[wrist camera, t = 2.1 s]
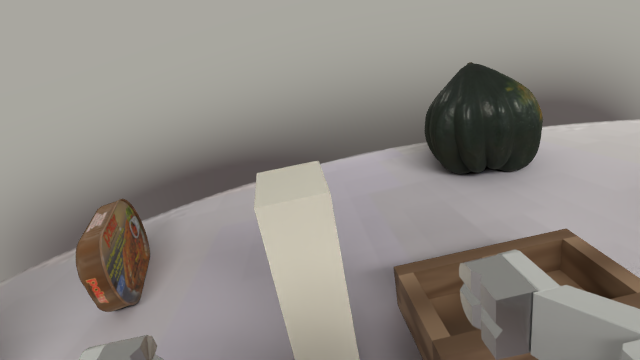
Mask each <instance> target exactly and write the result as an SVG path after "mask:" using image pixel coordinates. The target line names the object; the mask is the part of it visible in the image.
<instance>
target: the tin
mask: <svg viewBox="0 0 640 360" xmlns="http://www.w3.org/2000/svg"><path fill="white" fill-rule="evenodd" d="M149 258H150V251H149V243H148V239H147V235H146V232H145V229H144V227H143V224H142V222H141V219H140V218H139V215H138V214H137V212H136V210H135V209H134V207H133V206H132V205H131V204H130V203H129V202H128V201H127V200H125V199H120V200H118V201H116V202H113V203H110V204H107V205H104V206H102V207H100V208H99V209H98V210H97V211H96V213H95V215H94V216H93V218H92V220H91V222H90V223H89V225H88V227H87V228H86V230H85V232H84V233H83V235H82V237H81V238H80V240H79V242H78V245H77V248H76V266H77V271H78V275H79V278H80V280H81V282H82V284H83V285H84V286H85V288H86V290H87V292H88V293H89V295H90V297H91V298H92V300H93V301H94V302H95V304H96V305H97V307H98V308H99V309H100V310H102V311H105V312H111V311H115V310H118V309H121V308H123V307H126V306H129V305H135V304H136V303H137V302H138V301H139V299H140V297H141V293H142V289H143V284H144V280H145V276H146V271H147V267H148V263H149Z"/></svg>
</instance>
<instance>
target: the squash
mask: <svg viewBox="0 0 640 360" xmlns="http://www.w3.org/2000/svg"><path fill="white" fill-rule="evenodd" d="M542 122H543V121H542V112H541V109H540V106H539V104H538V102H537V100H536V98H535V97H534V95H533V94H532V92H530V90H529V89H527V88H526V87H524V86H523V85H522V84H520V83H519V82H517V81H515V80H513V79H512V78H510V77H508V76H506V75H504V74H501V73H499V72H498V71H496V70H493V69H490V68H488V67H486V66H483V65H479V64H473V63H472V62H471V63H468V64H467V65H466V66H464V67H463V68H462V69H460V70H459V72H458V73H457V74H456V75H455V76H454V77H453V78H452V79H451V81H450V82H449V83H448V84H447V85H446V87H444V89H443V90H442V91H441V92H440V93H439V94H438V96H437V97H436V98H435V99H434V101H433V102H432V104H431V105H430V107H429V109H428V111H427V114H426V121H425V136H426V141H427V143H428V146H429V148H430V150H431V151H432V153H433V155H434V156H435V157H436V158H437V159H438V160H439V161H440V162H441V163H442V165H443V166H444V167H445V168H446V169H448V170H449V171H451V172H454V173H459V174H464V173H468V172H471V171H473V172H482V171H483V170H484V169H485V168H486V166H488V167H489V168H491V169H499V170H503V171H515V170H519V169H521V168H524V167H525V166H527V165H528V164H529V163H530V162H531V161H532V160H533V158H534V157H535V155H536V153H537V151H538V148H539V144H540V139H541V131H542Z"/></svg>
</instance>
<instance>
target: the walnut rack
mask: <svg viewBox="0 0 640 360" xmlns="http://www.w3.org/2000/svg"><path fill="white" fill-rule="evenodd" d="M515 249H516V250H519V251H521V252H522V253H523V254H524V255H525V256H526V257H527V258H529V259H530V260H531V261H532V262H533V263H534V264H536V265H537V266H538V267H539V268H540V269H541V270H542V271H544V272H545V273H546V274H547V275H548V276H549V277H551V278H552V279H553V280H554V281H555V282H556V283H557V284H559V285H560V286H564V285H568V286H571V287H574V288H577V289H580V290H583V291H586V292H590V293H593V294H596V295H599V296H602V297H605V298H608V299H611V300H614V301H617V302H620V303H623V304H626V305H629V306H632V307H635V308H638V309H640V278H638V277H637V276H635V275H634V274H632V273H631V272H630V271H628V270H627V269H625V268H624V267H622V266H621V265H619V264H618V263H616V262H615V261H613V260H612V259H610V258H609V257H607V256H606V255H604V254H603V253H602V252H600V251H599V250H597V249H596V248H594V247H593V246H591V245H590V244H588V243H587V242H585V241H584V240H582V239H581V238H579V237H578V236H577V235H575V234H574V233H572V232H571V231H569V230H568V229H562V230H558V231H553V232H549V233H544V234H540V235H535V236H531V237H526V238H522V239H517V240H513V241H508V242H504V243H499V244H494V245H490V246H485V247H481V248H476V249H472V250H467V251H463V252H458V253H454V254H449V255H445V256H440V257H436V258H431V259H427V260H422V261H418V262H413V263H408V264H404V265H399V266H395V267H394V274H395V283H396V292H397V301H398V306H399V309H400V311H401V313H402V315H403V317H404V319H405V321H406V324H407V326H408V328H409V330H410V332H411V334H412V337H413V339H414V341H415V343H416V345H417V347H418V349H419V352H420V354H421V356H422V358H423V360H496V359H495V358H494V356H493V355H492V353H491V352H490V350H489V349H488V347H487V346H486V345H485V343H484V342H483V340H482V338H481V330H480V329H478V328H476V327H474V326H472V324H471V323H470V321H469V320H468V318H467V316H466V314H465V312H464V310H463V306H462V303H461V297H460V289H461V287H462V286H463V284H464V282H463V280H462V279H461V278H460V277H459V266H460V263H464V262H468V261H472V260H476V259H480V258H485V257H489V256H493V255H497V254H499V253H503V252H507V251H511V250H515ZM498 360H539V359H537V358H536V357H534V356H532V355H531V353H526V354H522V355H517V356H512V357H508V358H503V359H498Z"/></svg>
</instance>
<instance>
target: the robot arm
mask: <svg viewBox="0 0 640 360" xmlns="http://www.w3.org/2000/svg"><path fill="white" fill-rule="evenodd" d="M459 277H460V278H461V279H462V280H463V282H464V284H463V286H462V287H461V289H460V297H461V303H462V306H463V310H464V312H465V314H466V316H467V318H468V320H469V321H470V323H471V324H472V326H474V327H476V328H478V329H480V330H481V338H482V340H483V342H484V343H485V345H486V346H487V347H488V349H489V350H490V352H491V353H492V355H493V356H494V358H495V359H496V360H498V359H503V358H508V357H512V356H517V355H522V354H526V353H531V355H532V356H534V357H536V358H537V359H539V360H640V309H638V308H635V307H632V306H629V305H626V304H623V303H620V302H617V301H614V300H611V299H608V298H605V297H602V296H599V295H596V294H593V293H590V292H586V291H583V290H580V289H577V288H574V287H571V286H568V285H564V286H560V285H559V284H557V283H556V282H555V281H554V280H553V279H552V278H551V277H549V276H548V275H547V274H546V273H545V272H544V271H542V270H541V269H540V268H539V267H538V266H537V265H536V264H534V263H533V262H532V261H531V260H530V259H529V258H527V257H526V256H525V255H524V254H523V253H522V252H521V251H519V250H516V249H515V250H511V251H507V252H503V253H499V254H497V255H493V256H489V257H485V258H480V259H476V260H472V261H468V262H464V263H460V266H459ZM156 348H157V345H156V343H155V341H154V339H153V337H152V336H149V335H146V336H141V337H136V338H131V339H126V340H121V341H117V342H112V343H108V344H103V345H99V346H94V347H89V348H88V349H86V350H85V351H83V353H82V355H81V356H80V358H79V360H163V359H162V358H160V357H159V356H157V355H155V351H156Z"/></svg>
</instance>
